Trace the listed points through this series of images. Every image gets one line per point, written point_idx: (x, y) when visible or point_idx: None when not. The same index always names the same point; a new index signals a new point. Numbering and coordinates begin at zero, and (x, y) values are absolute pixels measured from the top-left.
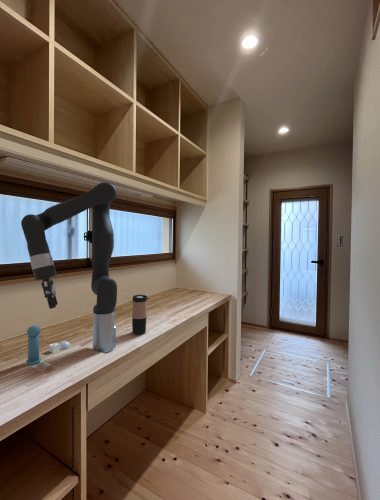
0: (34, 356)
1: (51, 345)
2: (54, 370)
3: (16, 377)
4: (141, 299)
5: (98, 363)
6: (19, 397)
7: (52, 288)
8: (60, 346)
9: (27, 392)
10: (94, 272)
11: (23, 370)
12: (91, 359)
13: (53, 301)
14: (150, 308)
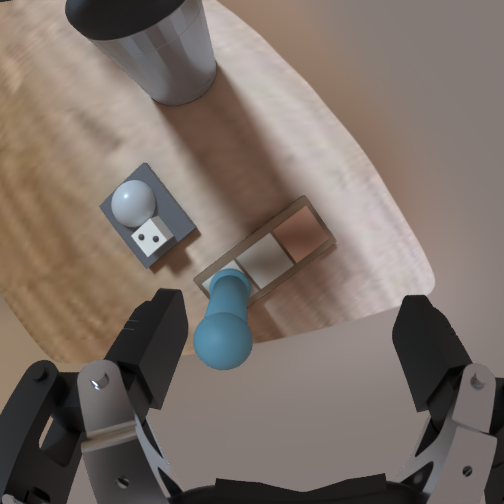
0: (245, 292)
1: (155, 247)
2: (317, 220)
3: (289, 313)
4: None
5: (288, 93)
6: (387, 285)
7: (482, 477)
8: (145, 214)
9: (376, 273)
10: None
11: (252, 305)
12: (250, 109)
13: (444, 340)
14: None
